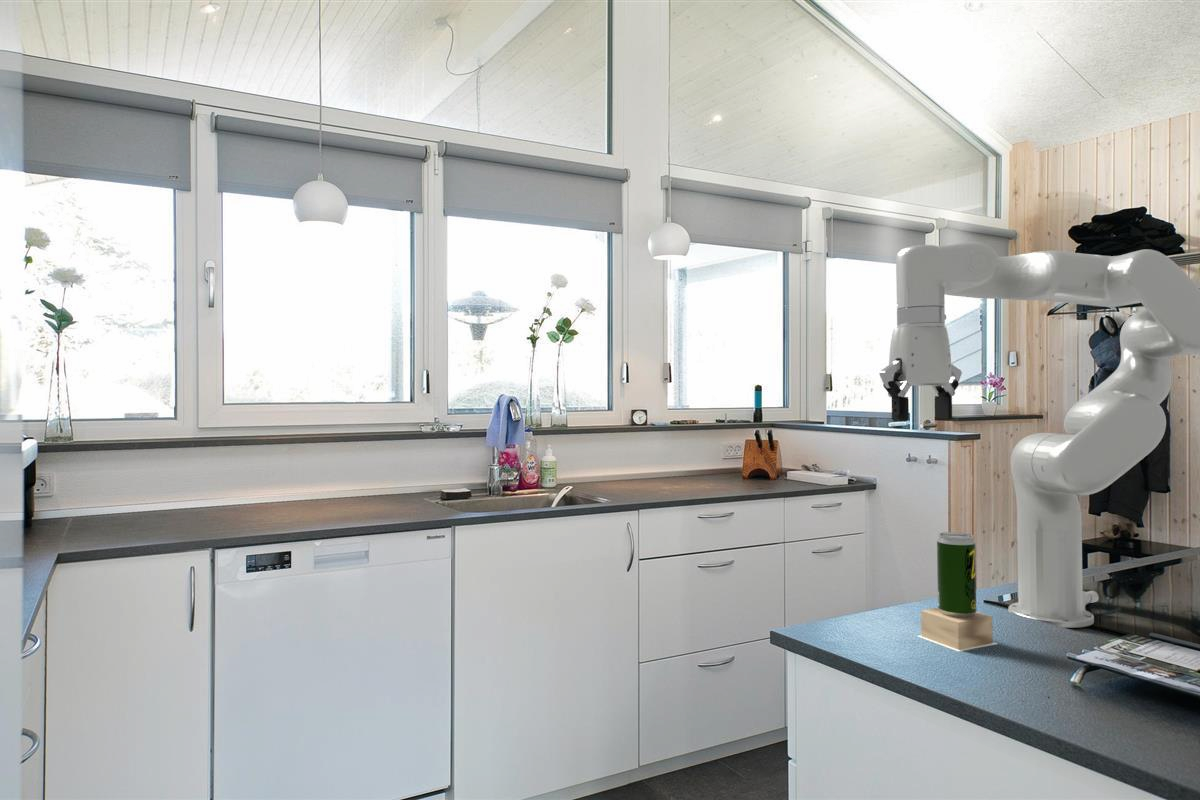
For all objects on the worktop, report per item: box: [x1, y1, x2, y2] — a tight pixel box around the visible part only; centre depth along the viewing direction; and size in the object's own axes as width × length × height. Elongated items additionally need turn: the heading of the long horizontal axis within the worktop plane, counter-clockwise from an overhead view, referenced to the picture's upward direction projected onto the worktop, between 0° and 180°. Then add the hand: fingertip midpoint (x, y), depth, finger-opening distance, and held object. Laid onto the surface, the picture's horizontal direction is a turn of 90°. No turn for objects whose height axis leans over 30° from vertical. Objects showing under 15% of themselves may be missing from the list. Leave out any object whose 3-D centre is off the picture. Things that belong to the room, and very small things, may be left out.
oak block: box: [920, 607, 994, 650], centre depth 117 cm, size 7×7×4 cm
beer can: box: [936, 531, 977, 618], centre depth 117 cm, size 5×5×12 cm
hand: (922, 419), depth 130 cm, fingers open, 9 cm apart
